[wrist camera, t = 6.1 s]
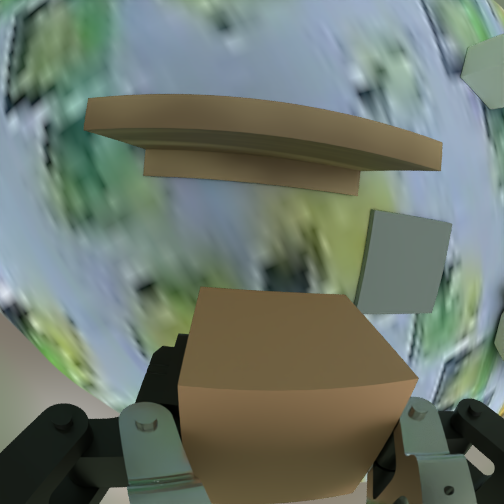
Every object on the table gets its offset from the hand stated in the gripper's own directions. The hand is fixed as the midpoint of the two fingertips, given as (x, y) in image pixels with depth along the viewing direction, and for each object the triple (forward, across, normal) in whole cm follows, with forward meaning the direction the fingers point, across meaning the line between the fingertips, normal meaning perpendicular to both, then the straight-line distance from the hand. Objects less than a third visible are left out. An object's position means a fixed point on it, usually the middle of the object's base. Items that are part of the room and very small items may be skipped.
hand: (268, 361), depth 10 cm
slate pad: (+16, -16, 0) cm, 23 cm away
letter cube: (+1, 0, 0) cm, 1 cm away
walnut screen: (+16, 0, -9) cm, 18 cm away
